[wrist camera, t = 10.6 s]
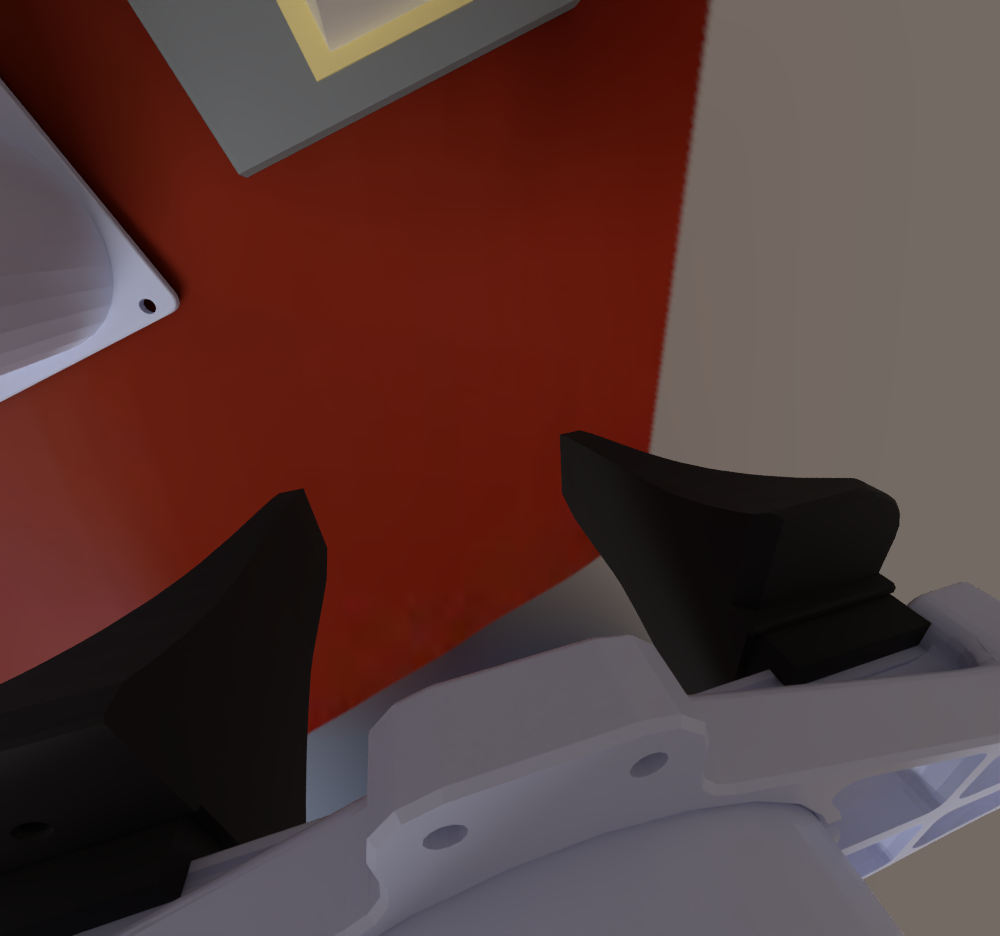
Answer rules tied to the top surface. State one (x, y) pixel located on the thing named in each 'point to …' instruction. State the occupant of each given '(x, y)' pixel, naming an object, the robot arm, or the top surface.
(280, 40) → the board
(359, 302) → the top surface
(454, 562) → the top surface
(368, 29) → the block
